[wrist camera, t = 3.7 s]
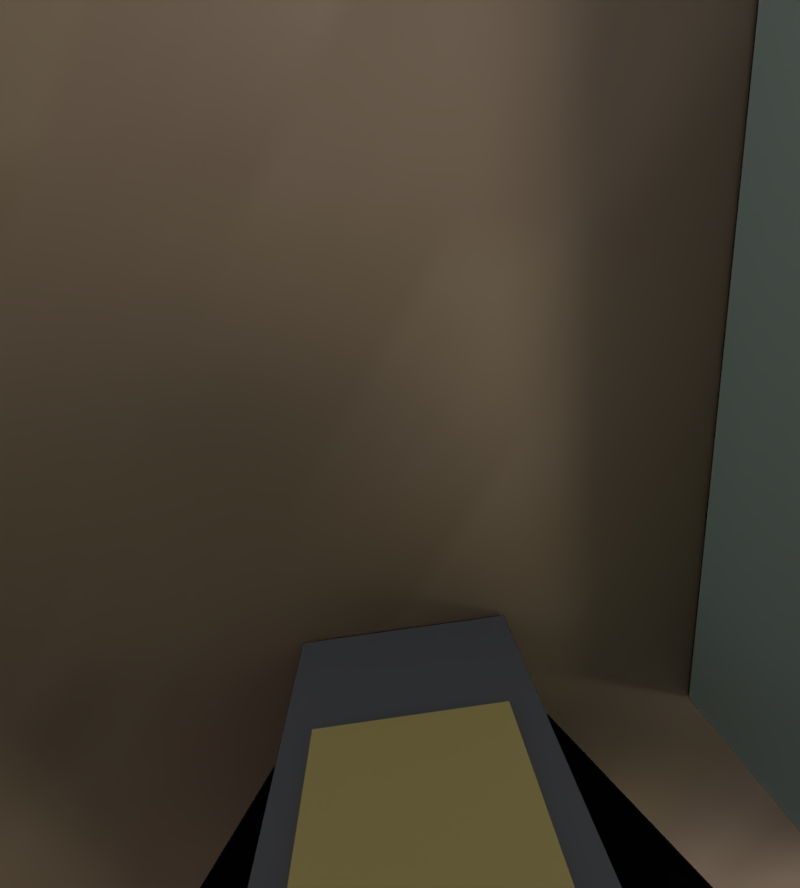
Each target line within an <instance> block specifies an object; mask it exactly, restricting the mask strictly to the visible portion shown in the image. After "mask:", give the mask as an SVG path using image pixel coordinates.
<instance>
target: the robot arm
mask: <svg viewBox="0 0 800 888" xmlns="http://www.w3.org/2000/svg"><path fill="white" fill-rule="evenodd" d="M546 715H547V717H548V719H549V722H550V724H551V726H552V729H553V731H554V733H555V736H556V738H557V740H558V742H559V745H560V747H561V749H562V752H563V754H564V756H565V758H566V761H567V763H568V765H569V768H570V770H571V772H572V775H573V777H574V779H575V781H576V784H577V786H578V788H579V791H580V793H581V795H582V798H583V800H584V802H585V804H586V807H587V809H588V811H589V814H590V816H591V818H592V821H593V823H594V825H595V827H596V830H597V832H598V834H599V837H600V839H601V841H602V843H603V846H604V848H605V850H606V853H607V855H608V857H609V860H610V862H611V864H612V866H613V869H614V871H615V873H616V876H617V878H618V880H619V883H620V885H621V887H622V888H713V887H712V886H711V885H710V884H709V883H708V882H707V881H706V880H705V879H704V878H703V877H702V876H701V875H700V874H699V873H698V872H697V871H696V869H695V868H694V867H693V866H692V865H691V864H690V863H689V862H688V861H687V860H686V859H685V858H684V857H683V856H682V855H681V854H680V853H679V852H678V851H677V850H676V848H675V847H674V846H673V845H672V844H671V843H670V842H669V841H668V840H667V839H666V838H665V837H664V836H663V835H662V834H661V833H660V832H659V831H658V830H657V829H656V827H655V826H654V825H653V824H652V823H651V822H650V821H649V820H648V819H647V818H646V817H645V816H644V815H643V814H642V813H641V812H640V811H639V810H638V809H637V808H636V806H635V805H634V804H633V803H632V802H631V801H630V800H629V799H628V798H627V797H626V796H625V795H624V794H623V793H622V792H621V791H620V790H619V789H618V788H617V787H616V785H615V784H614V783H613V782H612V781H611V780H610V779H609V778H608V777H607V776H606V775H605V774H604V773H603V772H602V771H601V770H600V769H599V768H598V767H597V766H596V764H595V763H594V762H593V761H592V760H591V759H590V758H589V757H588V756H587V755H586V754H585V753H584V752H583V751H582V750H581V749H580V748H579V747H578V746H577V745H576V743H575V742H574V741H573V740H572V739H571V738H570V737H569V736H568V735H567V734H566V733H565V732H564V731H563V730H562V729H561V728H560V727H559V726H558V725H557V724H556V722H555V721H554V720H553V719H552V718H551V717H550V716H549V715H548V714H546ZM275 766H276V764H275ZM275 766H274V768H273V769H272V771H271V773H270V774H269V776H268V777H267V779H266V781H265V782H264V784H263V786H262V787H261V789H260V791H259V792H258V794H257V796H256V797H255V799H254V800H253V802H252V804H251V805H250V807H249V809H248V810H247V812H246V814H245V815H244V817H243V818H242V820H241V822H240V823H239V825H238V827H237V828H236V830H235V832H234V833H233V835H232V836H231V838H230V840H229V841H228V843H227V845H226V846H225V848H224V850H223V851H222V853H221V854H220V856H219V858H218V859H217V861H216V863H215V864H214V866H213V868H212V869H211V871H210V872H209V874H208V876H207V877H206V879H205V881H204V882H203V884H202V886H201V887H200V888H248V884H249V879H250V875H251V871H252V866H253V862H254V857H255V853H256V849H257V844H258V840H259V836H260V831H261V827H262V822H263V818H264V814H265V809H266V805H267V801H268V796H269V792H270V787H271V783H272V779H273V774H274V770H275Z"/></svg>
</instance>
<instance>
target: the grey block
mask: <svg viewBox="0 0 800 888" xmlns="http://www.w3.org/2000/svg"><path fill="white" fill-rule="evenodd" d="M248 888H622V887H621V885H620V883H619V880H618V878H617V876H616V873H615V871H614V869H613V866H612V864H611V862H610V860H609V857H608V855H607V853H606V850H605V848H604V846H603V843H602V841H601V839H600V837H599V834H598V832H597V830H596V827H595V825H594V823H593V821H592V818H591V816H590V814H589V811H588V809H587V807H586V804H585V802H584V800H583V798H582V795H581V793H580V791H579V788H578V786H577V784H576V781H575V779H574V777H573V775H572V772H571V770H570V768H569V765H568V763H567V761H566V758H565V756H564V754H563V752H562V749H561V747H560V745H559V742H558V740H557V738H556V736H555V733H554V731H553V729H552V726H551V724H550V722H549V719H548V717H547V715H546V713H545V710H544V708H543V706H542V703H541V701H540V699H539V696H538V694H537V692H536V690H535V687H534V685H533V683H532V680H531V678H530V676H529V674H528V671H527V669H526V667H525V664H524V662H523V660H522V657H521V655H520V653H519V651H518V648H517V646H516V644H515V641H514V639H513V637H512V634H511V632H510V630H509V628H508V625H507V623H506V621H505V618H504V616H503V615H502V616H495V617H488V618H481V619H474V620H467V621H459V622H452V623H445V624H438V625H431V626H424V627H416V628H409V629H402V630H395V631H388V632H381V633H373V634H366V635H359V636H352V637H345V638H338V639H330V640H323V641H316V642H309V643H303V647H302V652H301V656H300V660H299V665H298V669H297V674H296V678H295V682H294V687H293V691H292V695H291V700H290V704H289V709H288V713H287V717H286V722H285V726H284V730H283V735H282V739H281V744H280V748H279V752H278V757H277V761H276V766H275V770H274V774H273V779H272V783H271V787H270V792H269V796H268V801H267V805H266V809H265V814H264V818H263V822H262V827H261V831H260V836H259V840H258V844H257V849H256V853H255V857H254V862H253V866H252V871H251V875H250V879H249V884H248Z"/></svg>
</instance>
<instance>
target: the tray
mask: <svg viewBox="0 0 800 888" xmlns="http://www.w3.org/2000/svg"><path fill="white" fill-rule="evenodd" d="M689 699H690V700H691V701H692V702H693V704H694V705H695V706H696V707H697V708H698V710H699V711H700V712H701V713H702V714H703V716H704V717H705V718H706V719H707V720H708V722H709V723H710V724H711V725H712V726H713V728H714V729H715V730H716V731H717V732H718V734H719V735H720V736H721V737H722V738H723V740H724V741H725V742H726V743H727V744H728V745H729V747H730V748H731V749H732V750H733V751H734V753H735V754H736V755H737V756H738V757H739V759H740V760H741V761H742V762H743V763H744V765H745V766H746V767H747V768H748V769H749V771H750V772H751V773H752V774H753V775H754V777H755V778H756V779H757V780H758V781H759V783H760V784H761V785H762V786H763V787H764V789H765V790H766V791H767V792H768V793H769V795H770V796H771V797H772V798H773V799H774V801H775V802H776V803H777V804H778V805H779V807H780V808H781V809H782V810H783V811H784V813H785V814H786V815H787V816H788V817H789V818H790V820H791V821H792V822H793V823H794V824H795V826H796V827H797V828H798V829H799V830H800V0H759V6H758V16H757V26H756V35H755V45H754V55H753V65H752V75H751V85H750V95H749V105H748V115H747V125H746V135H745V145H744V155H743V165H742V175H741V185H740V195H739V204H738V214H737V224H736V234H735V244H734V254H733V264H732V274H731V284H730V294H729V304H728V314H727V324H726V334H725V344H724V354H723V364H722V373H721V383H720V393H719V403H718V413H717V423H716V433H715V443H714V453H713V463H712V473H711V483H710V493H709V503H708V513H707V523H706V532H705V542H704V552H703V562H702V572H701V582H700V592H699V602H698V612H697V622H696V632H695V642H694V652H693V662H692V672H691V682H690V692H689Z"/></svg>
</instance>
